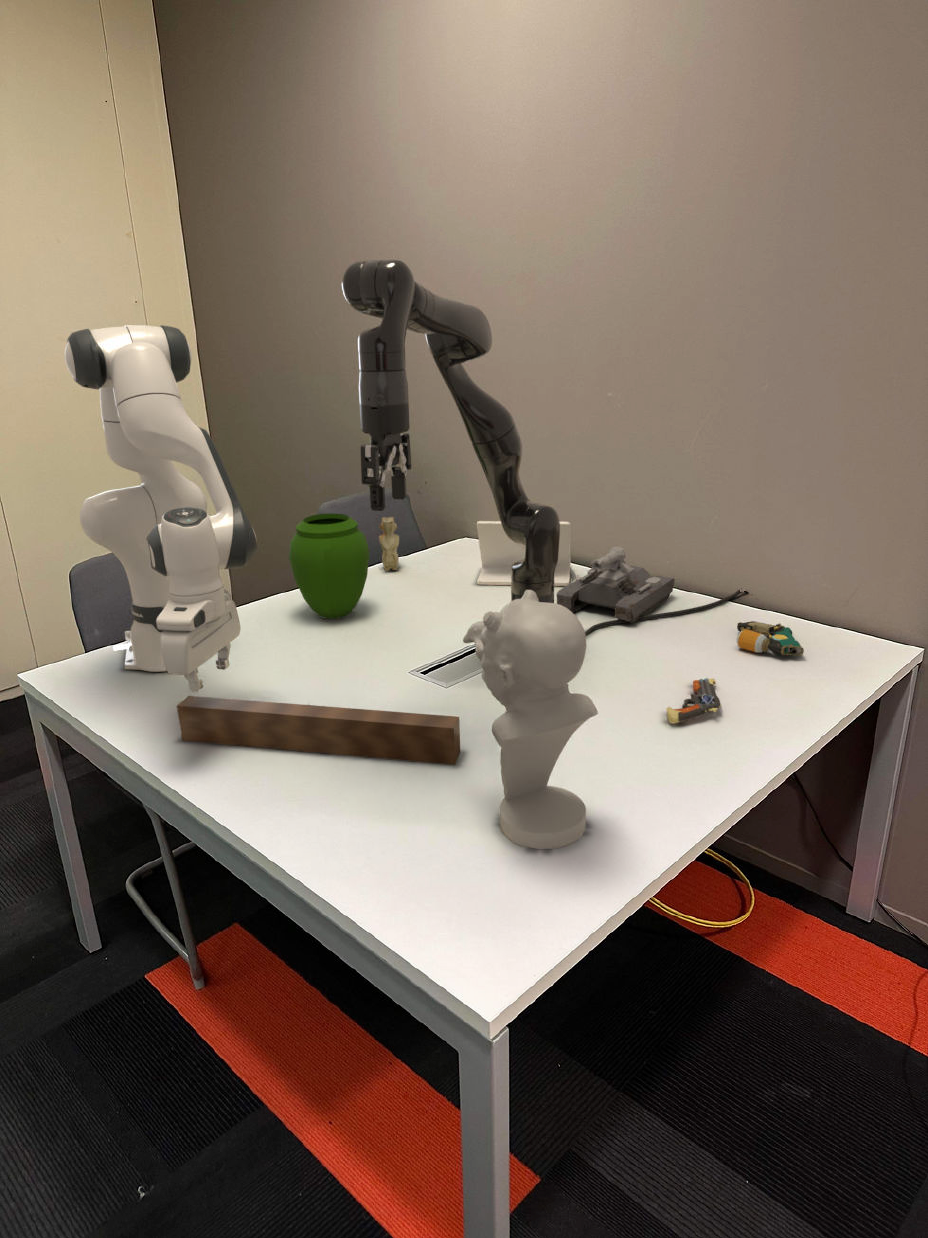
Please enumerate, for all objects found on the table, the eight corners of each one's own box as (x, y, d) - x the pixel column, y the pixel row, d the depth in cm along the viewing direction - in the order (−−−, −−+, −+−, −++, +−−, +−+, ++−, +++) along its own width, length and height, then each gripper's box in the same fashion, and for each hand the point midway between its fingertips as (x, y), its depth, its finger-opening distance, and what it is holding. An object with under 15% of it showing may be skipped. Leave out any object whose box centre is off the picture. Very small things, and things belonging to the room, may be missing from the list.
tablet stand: (569, 585, 229) (570, 524, 223) (476, 584, 232) (475, 523, 226) (570, 566, 246) (571, 508, 240) (484, 564, 249) (483, 507, 243)
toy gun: (667, 713, 153) (725, 711, 151) (663, 676, 171) (714, 673, 169) (668, 727, 154) (725, 725, 151) (664, 689, 171) (715, 686, 169)
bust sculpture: (526, 759, 144) (526, 560, 132) (615, 831, 124) (624, 605, 112) (442, 785, 137) (433, 578, 125) (521, 866, 117) (520, 629, 105)
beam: (460, 752, 147) (459, 716, 145) (455, 765, 143) (453, 728, 141) (193, 729, 158) (188, 695, 155) (182, 740, 154) (176, 705, 152)
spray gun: (738, 629, 198) (807, 640, 192) (727, 651, 184) (801, 664, 178) (740, 612, 197) (810, 622, 191) (729, 633, 182) (804, 645, 176)
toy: (603, 584, 229) (605, 530, 224) (673, 597, 218) (677, 540, 213) (555, 612, 210) (556, 553, 205) (630, 627, 199) (633, 566, 194)
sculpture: (401, 564, 252) (398, 514, 246) (400, 571, 245) (397, 520, 240) (381, 565, 251) (378, 515, 246) (380, 572, 245) (377, 521, 239)
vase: (389, 608, 216) (383, 514, 208) (339, 633, 201) (330, 533, 192) (330, 596, 226) (322, 506, 218) (278, 619, 211) (267, 523, 202)
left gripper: (211, 585, 156) (222, 655, 160) (149, 623, 137) (163, 702, 142) (243, 586, 154) (253, 656, 159) (185, 625, 136) (198, 704, 140)
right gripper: (380, 395, 139) (385, 494, 144) (341, 405, 126) (348, 513, 131) (423, 396, 136) (426, 496, 142) (388, 406, 124) (393, 515, 129)
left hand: (210, 678), depth 150 cm, fingers open, 8 cm apart
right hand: (389, 504), depth 137 cm, fingers open, 8 cm apart
